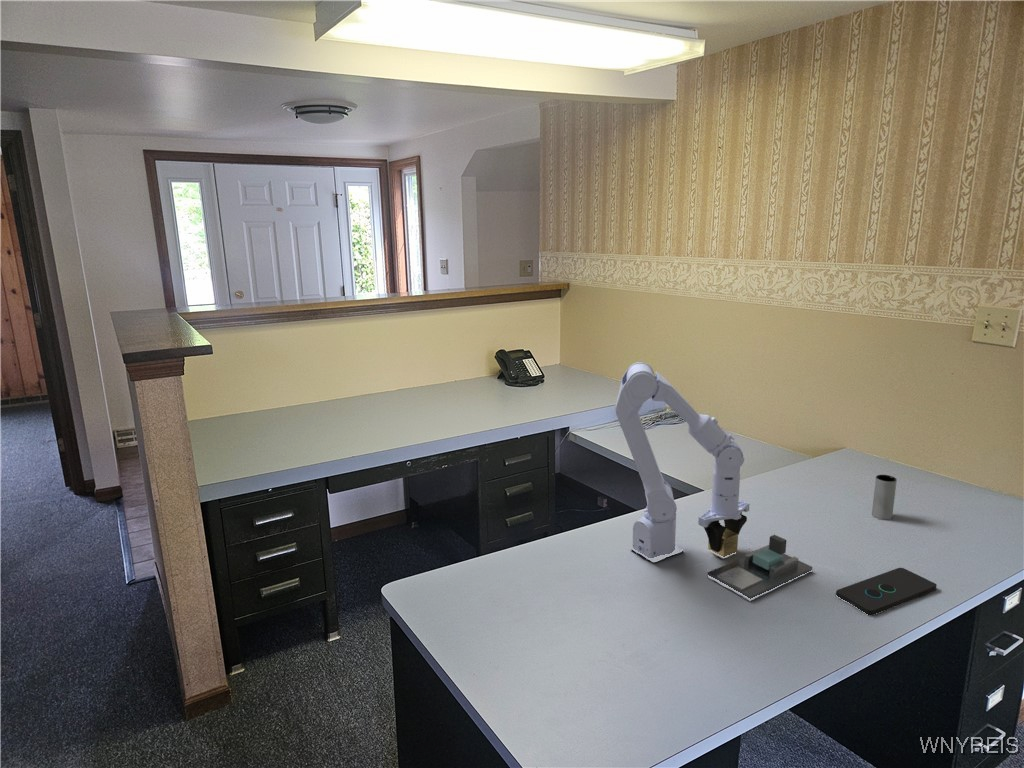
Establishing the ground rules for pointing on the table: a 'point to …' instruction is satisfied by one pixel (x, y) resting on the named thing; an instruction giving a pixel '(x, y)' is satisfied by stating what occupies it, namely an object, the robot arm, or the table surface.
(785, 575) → the press bed
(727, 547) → the block
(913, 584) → the smart home device
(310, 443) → the table surface
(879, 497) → the grey cylinder
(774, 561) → the teal and grey block
